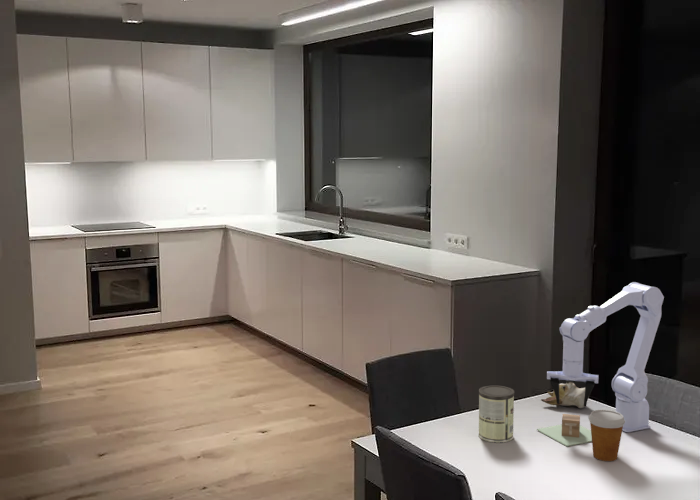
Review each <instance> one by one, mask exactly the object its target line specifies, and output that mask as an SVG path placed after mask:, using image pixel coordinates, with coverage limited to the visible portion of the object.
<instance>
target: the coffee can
mask: <svg viewBox="0 0 700 500" xmlns="http://www.w3.org/2000/svg"><path fill="white" fill-rule="evenodd" d="M514 399H515V390H514V389H513V388H511V387H508V386H504V385H498V384H497V385H495V384H494V385H493V384H492V385H486V386H481V387H480V388H479V389H478V437H479V438H480V439H481V440H483V441H485V442H489V443H494V442H496V444H497V443H499V444H501V443H500V442H503V443H508V442H510V441H512V440H513V439H514V418H515V417H514V415H515V414H514V411H515V410H514V409H515V408H514V405H515V403H514V401H515V400H514ZM507 441H508V442H507Z"/></svg>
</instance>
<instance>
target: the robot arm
mask: <svg viewBox="0 0 700 500" xmlns="http://www.w3.org/2000/svg"><path fill="white" fill-rule="evenodd" d="M664 298H665V296H664V295H663V293H662V291H661V289H660V288H658V287H656V286H650V285H646V284H642V283H640V282H636V281H632V282H630V283H629V284H628V285H626V286H624V287H623V288H622V290H621V291H620V292H618V293H617V294H615V295H614V296H612V298H609V299H608V300H607V301H605V302H604V303H603V304H601V305H600V306H598V305H589V306H588V307H587V309H585V310H584V311H582V312H580V313H579V314H576V315H575V316H574V317H572V318H570V317H569V318H566V319H564V321H563V322H562V323H561V325H560V327H558V328H559V333H560V335H561V336H562V343H563V345H562V346H563V347H562V348H563V349H562V370H560V371H559V370H558V371H555V370H554V371H549V370H548V371H546V380H550V385H551V387H552V389H553V390H552V391H554V392H555V396H556V401H557V404H559V401H560V397H559V384H561V383H560V381H570V382H573V381H575V382H583V383H585V385H584V388H585V397H584V406H585V407H587V405H588V400H589V398H588V397H590V395H591V393H592V391H593V390H594V387H595V384H599V374H591V373H585V372H584V349H585V348H584V347H585V343H584V342H585V340H587V337H588V336H589V334H590V332H592V331H593V330H594V329H597V327H599V326H601V325H602V324H604V323H606V321H607V317H608V316H610V315H612V314H614V313H616V312H618V311H620V310H621V309H623V308H625V307H627V306H633V307H634V308H635V309H636V310H637V312H638V314H639V315H640V317H639V320H638V324H637V327H636V330H635V333H634V336H633V340H632V343H631V346H630V349H629V352H628V355H627V358H626V362H625V364H624V365H622V366H621V367H619V368H618V370H617V371H616V374H615V375H614V377H613V378H612V380H611V388H612V391H613V392H614V395H615V412H618V413H620V414H622V415H623V417H624V420H625V423H624V425H623V429H622V432H625V433H631V432H637V431H642V430H647V429H651V426H650V425H649V423H650V421H649V420H650V405H649V402H648V400H647V399H646V397H647V394H648V383H649V378H648V376H647V374H646V372H645V369H646V365H647V362H648V360H649V356H650V352H651V350H652V347H653V344H654V341H655V337H656V333H657V331H658V328H659V325H660V321H661V318H662V305H663V303H664ZM585 407H584V408H585Z"/></svg>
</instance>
